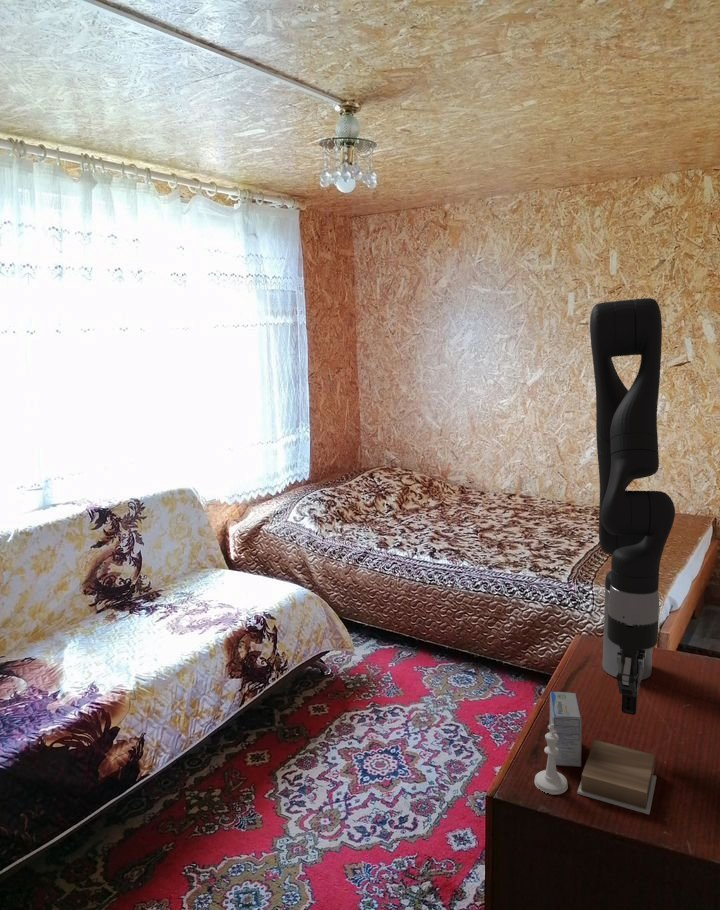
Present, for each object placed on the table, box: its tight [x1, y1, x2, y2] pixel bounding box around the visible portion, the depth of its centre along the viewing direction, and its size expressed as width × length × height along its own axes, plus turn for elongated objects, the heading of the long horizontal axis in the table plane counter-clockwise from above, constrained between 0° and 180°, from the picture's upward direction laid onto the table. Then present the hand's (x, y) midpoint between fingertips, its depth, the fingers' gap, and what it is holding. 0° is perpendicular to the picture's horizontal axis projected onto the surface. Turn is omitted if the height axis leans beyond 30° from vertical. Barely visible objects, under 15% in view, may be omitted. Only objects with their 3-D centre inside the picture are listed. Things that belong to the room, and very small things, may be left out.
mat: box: [576, 774, 657, 815], centre depth 103 cm, size 9×10×1 cm
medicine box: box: [548, 691, 583, 768], centre depth 111 cm, size 8×4×9 cm, turn 168°
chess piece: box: [534, 723, 569, 796], centre depth 103 cm, size 5×5×10 cm
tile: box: [580, 739, 656, 809], centre depth 103 cm, size 3×9×10 cm
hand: (629, 711), depth 111 cm, fingers closed
